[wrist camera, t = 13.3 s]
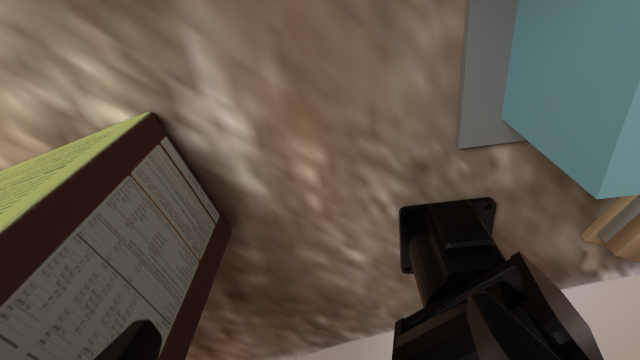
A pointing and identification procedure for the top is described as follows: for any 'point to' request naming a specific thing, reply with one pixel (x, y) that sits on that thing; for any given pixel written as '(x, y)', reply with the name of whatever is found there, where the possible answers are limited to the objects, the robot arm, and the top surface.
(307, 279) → the top surface
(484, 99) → the charcoal mat
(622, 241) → the offcut stack
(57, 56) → the top surface
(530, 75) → the teal block
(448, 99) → the top surface
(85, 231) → the protein box
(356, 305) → the top surface
